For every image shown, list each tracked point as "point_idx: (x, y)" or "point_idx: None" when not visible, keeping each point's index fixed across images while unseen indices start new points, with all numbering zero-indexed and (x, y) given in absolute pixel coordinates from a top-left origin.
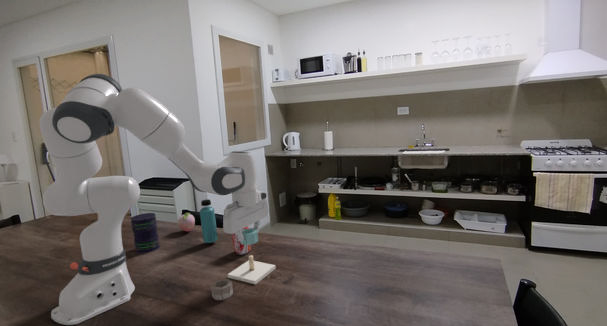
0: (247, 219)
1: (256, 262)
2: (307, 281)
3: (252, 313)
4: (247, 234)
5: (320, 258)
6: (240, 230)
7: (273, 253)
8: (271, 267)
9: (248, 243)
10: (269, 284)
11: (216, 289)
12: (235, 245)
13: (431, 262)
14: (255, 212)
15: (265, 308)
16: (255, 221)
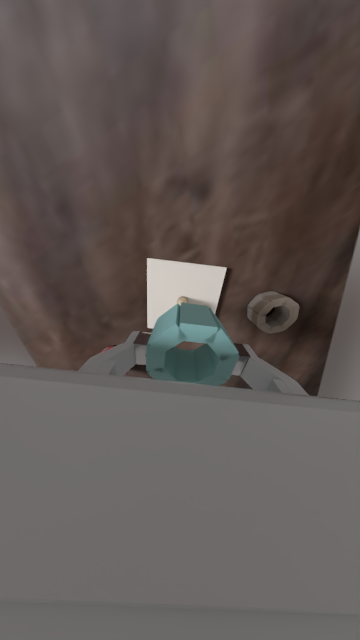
0: (293, 472)
1: (151, 308)
2: (184, 103)
3: (340, 206)
4: (232, 349)
5: (32, 130)
6: (299, 393)
7: (92, 299)
8: (160, 262)
9: (221, 323)
10: (219, 233)
11: (297, 314)
12: (126, 373)
13: None
14: (81, 549)
15: (324, 181)
16: (150, 384)
